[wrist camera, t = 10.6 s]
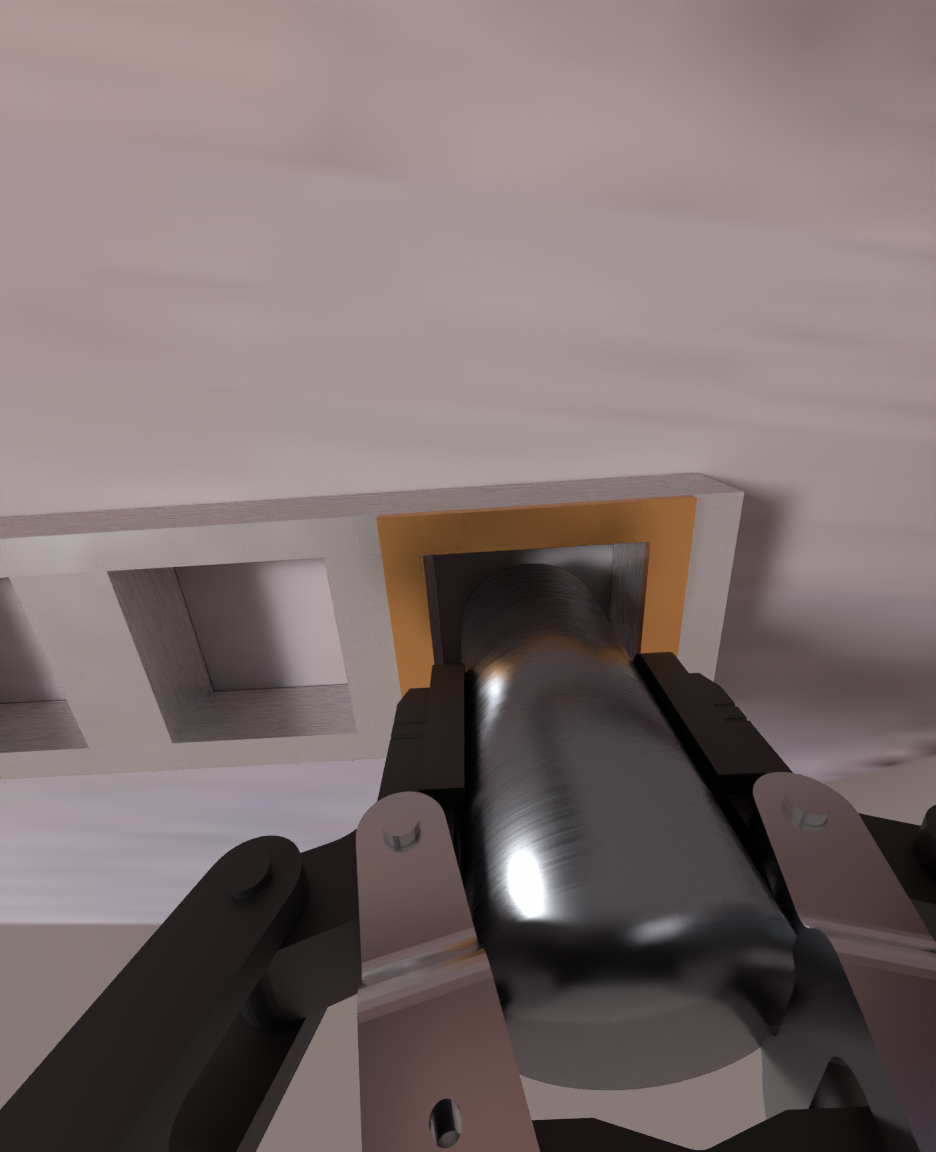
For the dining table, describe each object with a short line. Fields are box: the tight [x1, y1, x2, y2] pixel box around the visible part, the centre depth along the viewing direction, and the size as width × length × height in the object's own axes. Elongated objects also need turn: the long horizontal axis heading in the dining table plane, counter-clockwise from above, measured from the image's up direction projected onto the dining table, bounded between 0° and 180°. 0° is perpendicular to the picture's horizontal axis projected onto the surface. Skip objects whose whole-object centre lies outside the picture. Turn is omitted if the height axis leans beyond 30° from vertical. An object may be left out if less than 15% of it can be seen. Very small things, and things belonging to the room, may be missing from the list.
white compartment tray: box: [0, 473, 744, 779], centre depth 14 cm, size 26×8×3 cm, turn 94°
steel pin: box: [460, 564, 797, 1090], centre depth 10 cm, size 4×4×9 cm
